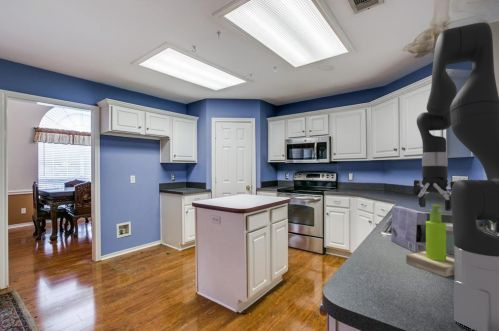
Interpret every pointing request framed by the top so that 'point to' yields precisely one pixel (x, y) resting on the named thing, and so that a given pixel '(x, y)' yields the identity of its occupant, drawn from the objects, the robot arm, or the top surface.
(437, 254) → the soap dispenser
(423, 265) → the birch stand
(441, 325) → the top surface
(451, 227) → the coffee cup
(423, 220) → the cake pan box
